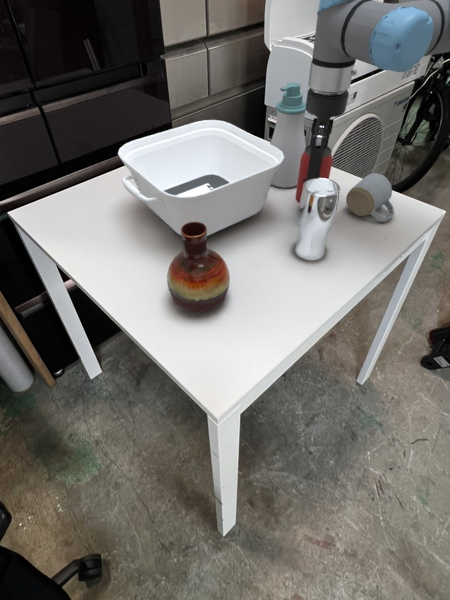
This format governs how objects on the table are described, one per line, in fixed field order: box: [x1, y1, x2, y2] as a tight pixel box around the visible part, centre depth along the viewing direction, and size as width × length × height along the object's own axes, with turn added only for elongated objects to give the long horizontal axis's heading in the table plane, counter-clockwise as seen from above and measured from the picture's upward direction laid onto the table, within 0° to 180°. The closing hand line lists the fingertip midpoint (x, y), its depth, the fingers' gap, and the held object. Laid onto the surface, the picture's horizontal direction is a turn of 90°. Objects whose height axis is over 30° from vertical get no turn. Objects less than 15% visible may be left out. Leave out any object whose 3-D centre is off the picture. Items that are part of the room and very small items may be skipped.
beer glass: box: [294, 178, 341, 261], centre depth 73 cm, size 7×7×15 cm
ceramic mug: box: [345, 172, 395, 223], centre depth 85 cm, size 11×8×8 cm
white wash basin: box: [117, 119, 284, 237], centre depth 83 cm, size 34×29×15 cm
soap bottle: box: [269, 82, 307, 189], centre depth 91 cm, size 10×10×23 cm
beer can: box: [295, 144, 333, 204], centre depth 81 cm, size 7×7×12 cm
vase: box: [166, 222, 231, 313], centre depth 64 cm, size 11×11×15 cm
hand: (310, 198), depth 85 cm, fingers closed on beer can, 7 cm apart
